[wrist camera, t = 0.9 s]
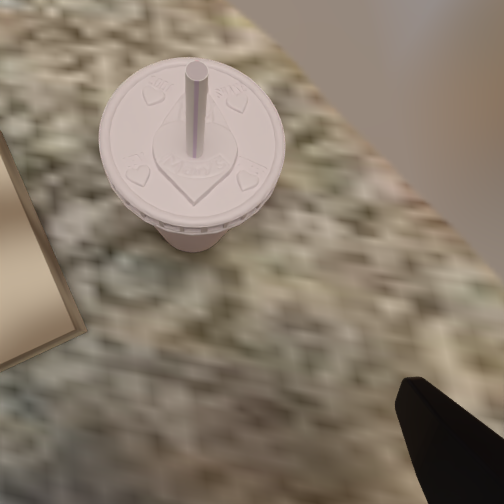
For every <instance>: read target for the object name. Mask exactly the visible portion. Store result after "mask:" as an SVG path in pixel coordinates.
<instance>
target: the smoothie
mask: <svg viewBox="0 0 504 504" xmlns="http://www.w3.org/2000/svg"><path fill="white" fill-rule="evenodd" d="M99 150H100V155H101V159H102V162H103V167H104V170H105V172H106V175H107V177H108V180H109V183H110V185H111V188H112V189H113V190H114V192H115V193H116V194H117V196H118V197H119V199H120V200H121V201H122V203H123V204H124V205H125V207H127V208H128V209H129V210H130V211H132V212H133V213H134V214H136V215H137V216H138V217H139V218H141V219H142V220H143V221H144V222H146V223H149V224H151V225H153V226H154V227H155V228H156V229H157V230H158V231H159V233H160V234H161V235H162V236H163V237H164V238H165V240H166V241H167V242H168V243H169V244H170V245H172V246H173V247H175V248H176V249H178V250H181V251H184V252H201V251H204V250H207V249H209V248H210V247H212V246H213V245H215V244H216V243H217V242H218V241H219V240H220V239H221V237H222V236H223V235H224V234H225V233H226V232H227V231H228V230H229V229H230V228H233V227H235V226H238V225H240V224H241V223H243V222H244V221H246V220H247V219H248V218H250V217H251V216H253V215H254V214H255V213H257V212H258V211H259V210H260V208H261V207H262V206H263V205H264V204H265V202H266V201H267V200H268V199H269V197H270V196H271V195H272V193H273V190H274V188H275V185H276V183H277V181H278V178H279V176H280V172H281V169H282V166H283V162H284V156H285V136H284V130H283V126H282V122H281V119H280V117H279V114H278V112H277V110H276V108H275V106H274V104H273V103H272V101H271V100H270V98H269V97H268V96H267V94H266V93H265V92H264V91H263V90H262V89H261V88H260V87H259V85H257V84H256V83H255V82H254V81H253V80H252V79H250V78H249V77H248V76H246V75H245V74H243V73H242V72H240V71H238V70H236V69H234V68H233V67H231V66H228V65H226V64H223V63H220V62H217V61H213V60H209V59H203V58H194V57H182V58H172V59H167V60H162V61H159V62H156V63H153V64H151V65H148V66H146V67H144V68H142V69H140V70H138V71H137V72H135V73H134V74H132V75H131V76H130V77H129V78H127V79H126V80H125V81H124V82H123V83H122V84H121V85H120V86H119V87H118V88H117V89H116V91H115V92H114V93H113V95H112V96H111V98H110V99H109V101H108V103H107V105H106V107H105V109H104V112H103V115H102V118H101V122H100V128H99Z"/></svg>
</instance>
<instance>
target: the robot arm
mask: <svg viewBox="0 0 504 504" xmlns="http://www.w3.org/2000/svg"><path fill="white" fill-rule="evenodd" d="M395 410H396V414H397V417H398V420H399V423H400V426H401V429H402V433H403V436H404V439H405V442H406V445H407V448H408V451H409V455H410V458H411V461H412V464H413V467H414V470H415V473H416V476H417V478H418V481H419V483H420V485H421V488H422V490H423V493H424V495H425V497H426V499H427V502H428V504H504V439H503V438H502V437H501V436H499V435H498V434H497V433H495V432H494V431H493V430H491V429H490V428H489V427H487V426H486V425H485V424H483V423H482V422H481V421H480V420H478V419H477V418H476V417H474V416H473V415H472V414H470V413H469V412H468V411H466V410H465V409H464V408H462V407H461V406H460V405H458V404H457V403H456V402H454V401H453V400H452V399H450V398H449V397H448V396H447V395H445V394H444V393H443V392H441V391H440V390H439V389H437V388H436V387H435V386H433V385H432V384H431V383H429V382H428V381H427V380H425V379H424V378H422V377H406V378H404V379H403V380H402V382H401V385H400V388H399V391H398V394H397V397H396V400H395Z"/></svg>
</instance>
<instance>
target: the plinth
mask: <svg viewBox="0 0 504 504" xmlns="http://www.w3.org/2000/svg"><path fill="white" fill-rule="evenodd" d="M86 332H88V331H87V329H86V326H85V324H84V322H83V319H82V317H81V315H80V312H79V310H78V308H77V305H76V303H75V301H74V299H73V296H72V294H71V292H70V289H69V287H68V285H67V282H66V280H65V278H64V275H63V273H62V271H61V268H60V266H59V264H58V262H57V259H56V257H55V255H54V252H53V250H52V248H51V245H50V243H49V241H48V238H47V236H46V234H45V231H44V229H43V227H42V225H41V222H40V220H39V218H38V215H37V213H36V211H35V208H34V206H33V204H32V201H31V199H30V197H29V194H28V192H27V190H26V188H25V185H24V183H23V181H22V178H21V176H20V174H19V171H18V169H17V167H16V164H15V162H14V160H13V157H12V155H11V153H10V151H9V148H8V146H7V144H6V141H5V139H4V137H3V134H2V132H1V131H0V372H2V371H4V370H6V369H9V368H11V367H13V366H15V365H17V364H19V363H21V362H24V361H26V360H28V359H30V358H32V357H34V356H36V355H39V354H41V353H43V352H45V351H47V350H49V349H51V348H54V347H56V346H58V345H60V344H62V343H64V342H66V341H69V340H71V339H73V338H75V337H77V336H79V335H82V334H84V333H86Z"/></svg>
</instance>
